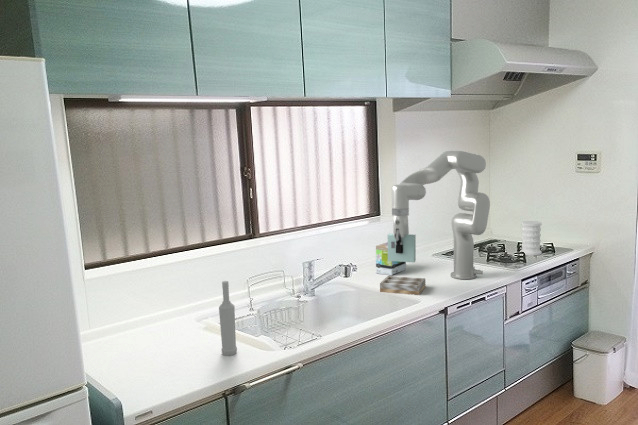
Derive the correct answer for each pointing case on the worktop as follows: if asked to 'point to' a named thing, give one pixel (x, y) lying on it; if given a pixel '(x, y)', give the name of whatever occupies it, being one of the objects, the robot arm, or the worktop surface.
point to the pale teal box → (408, 249)
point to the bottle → (227, 323)
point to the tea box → (387, 262)
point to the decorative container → (531, 237)
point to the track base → (402, 285)
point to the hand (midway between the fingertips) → (400, 251)
